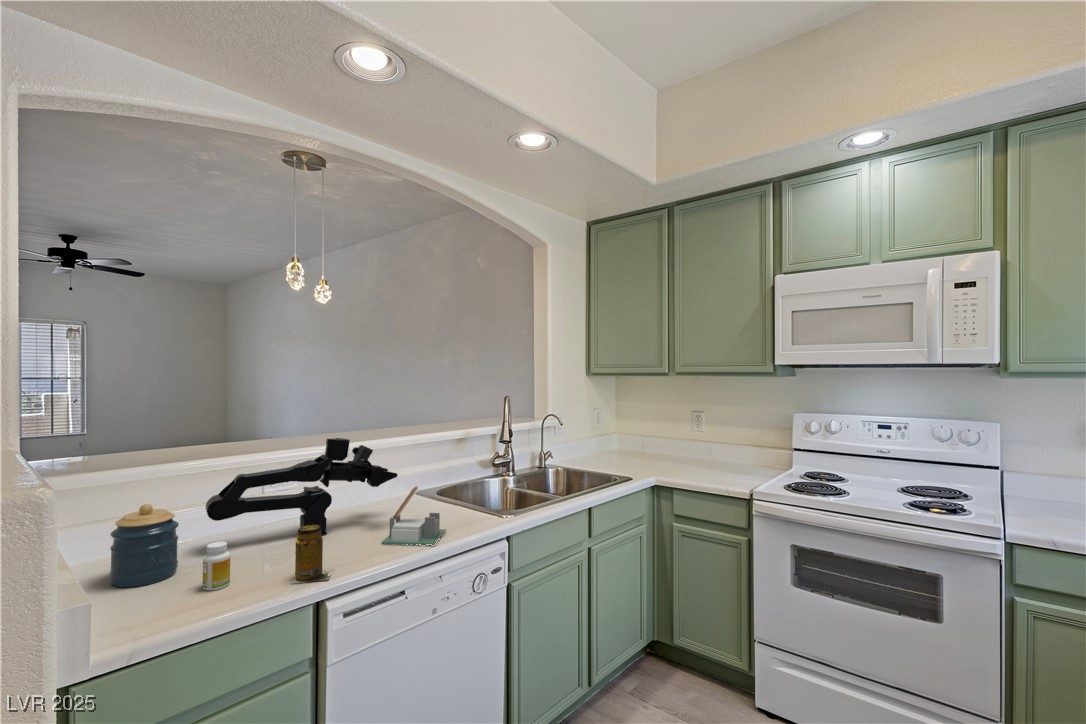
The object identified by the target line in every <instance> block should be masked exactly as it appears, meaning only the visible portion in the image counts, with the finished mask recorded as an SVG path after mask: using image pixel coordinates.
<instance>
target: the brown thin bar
mask: <svg viewBox="0 0 1086 724" xmlns="http://www.w3.org/2000/svg"><path fill="white" fill-rule="evenodd" d="M418 489H419V487H418V486H417V485H416V486H414V487H413V488H412V489H411V490H410V492H409V494H408V495H407V496H406V498H405V499H404V501H402V504H400V506H399V508H398V509H397V511H395V513H394V514H393V516H392V517H394V521H396V518H398V517H399V515H400V516H401V513H402V512H403V510H404V509H405V508H406V506H407V504H408V503H409V502H410V500H411V499H412V497H413V496H414V494H415V493H416V492H417V490H418Z"/></svg>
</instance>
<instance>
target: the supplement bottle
mask: <svg viewBox="0 0 1086 724" xmlns="http://www.w3.org/2000/svg"><path fill="white" fill-rule="evenodd" d="M227 549H228V543H227V542H226V541H215V542H212V543H209V544H207V545H206V554H204V556H203V557H202V589H203V591H209V592H210V591H211V592H212V591H217V590H222V589H225V588H227V587H228V586H229V585H230V583H231V553H230V551H228V550H227Z"/></svg>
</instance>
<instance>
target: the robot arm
mask: <svg viewBox="0 0 1086 724" xmlns="http://www.w3.org/2000/svg"><path fill="white" fill-rule="evenodd" d="M350 440H351V439H348V438H343V437H335V438H326V441H325V445H326V446H325V452H324V453H322V454H321V455H320V456H317V457H316V458H315V459H308V460H306V461H303V462H302V461H301V462H298V463H297V464H294V465H292V466H289V467H284V468H278V469H270V470H264V471H258V472H257V471H256V472H252V473H240V474H238V475H236V476H235V477H234V478H233V480H232V481H230V483H228V484H227V485H226V486H225V487H224V488H222V489H221V490H220V492H219V493H218V494H216V495H215V494H214V495H212V496H211V497H210V498H208V500H207V502H206V503H205V511H206V514H207V517H208V518H209V519H211V520H212V521H217V522H219V521H223V520H227V519H232V518H235V517H237V516H240V515H242V514H246V513H247V514H248V513H258V512H259V513H260V512H270V511H280V510H291V509H300V512H301V513H302V514H300V515H299V528H300V527H303V526H307V525H318V526H321V536H325V535H327V534H328V532H327V517H326V515H325V514H326V511H327V510H328V508H329V507H330V506H331V504H332V502H333V499H332V495H331V494H330V493H329V492H328V491H327V490H325V488H322V487H319V486H318V485H316V486H310V487H309V486H303V491H301V492H299V493H292V494H278V495H277V494H276V495H267V496H266V495H263V496H251V497H242V495H243V494H244V493H245V492H246V490H248V489H252V488H259V487H260V488H261V487H264V486H270V485H276V484H282V483H288V482H299V483H300V482H302V483H315V482H318V481H319V482H320V483H321V484H323V486H324V487H326V488H328V487H329V486H330V481H331V482H332V481H333V482H334V481H336V482H338V481H339V482H340V481H341V482H343V481H344V482H348V483H352V482H361V483H367V485H368V486H370V487H372V488H379V486H380V485H382V484H384V483H387V482H389V481H391V480H394V479H397V478H398V475H399V474H398V473H397V472H392V471H389V470H388V468H385V467H382V466H380V465H376V464H374V465H373V464H372V463H371V462H370V461H369V459H370V457H371V455H372V454H373V452H374V450H373V449H372V448H369V447H368V446H365V445H362V444H361V445H359V446H358V447H357V446H356V447H353V449H352V450H351V452H352V454H353V459H352V460H348V461H346V462H344V460H346V459H347V458H348V456H349V455H348V454H349V448H350V442H351V441H350Z"/></svg>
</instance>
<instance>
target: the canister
mask: <svg viewBox="0 0 1086 724" xmlns="http://www.w3.org/2000/svg"><path fill="white" fill-rule="evenodd" d="M174 517H175V513H173V512H171V511H169V510H167V509H164V508H162V509H161V508H160V509H159V508H154V507H153V505H152V504H150V503H145V504H142V505H141V506H140V507H139V510H138V511H134V512H131V513H127V514H125V515H124V516H123V517H121V518H120V519H118V520H117V521H115V526H116V528H115V529H114V530H112V531H111V532H110V536H111V538H113V542H112V545H111V546H110V572H109V580H110V585H112V586H113V587H116V588H133V587H135V588H136V587H143V586H149V585H151V584H154V583H158V582H161V581H164V580H166V579H169V578H171V577H172V576H174V575H175V574H176V573H177V571H178V570H177V569H178V565H179V564H178V563H179V561H178V540H179V535H178V534H177V528H178V527H179V524H180V523H179V522H178V521H176V520H175V519H174Z"/></svg>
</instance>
